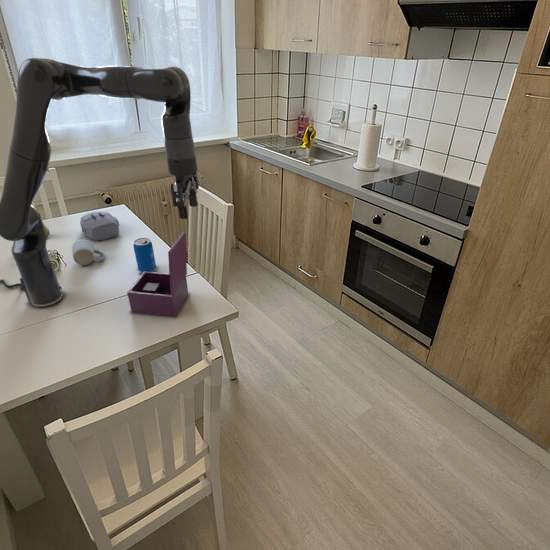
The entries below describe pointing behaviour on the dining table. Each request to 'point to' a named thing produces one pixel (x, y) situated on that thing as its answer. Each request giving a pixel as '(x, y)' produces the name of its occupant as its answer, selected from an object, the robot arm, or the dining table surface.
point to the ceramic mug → (85, 252)
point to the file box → (157, 295)
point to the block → (152, 288)
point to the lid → (177, 263)
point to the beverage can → (144, 255)
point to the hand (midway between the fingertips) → (189, 212)
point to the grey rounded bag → (99, 225)
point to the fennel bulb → (44, 227)
